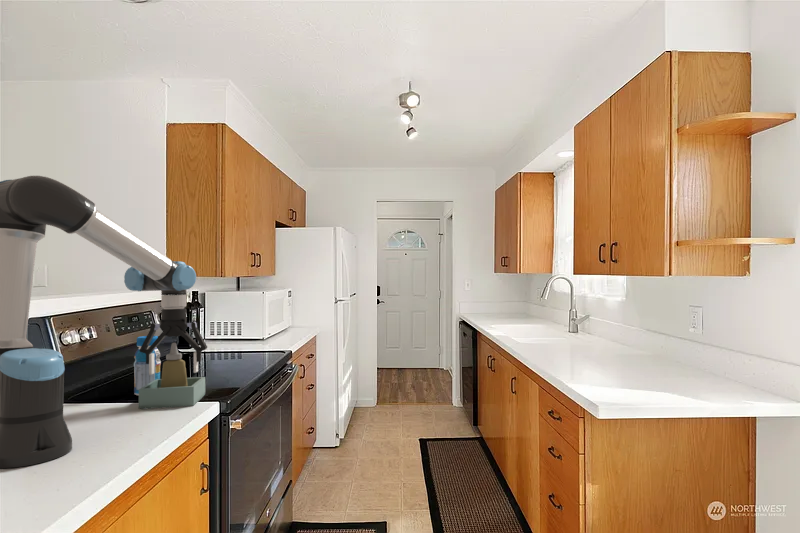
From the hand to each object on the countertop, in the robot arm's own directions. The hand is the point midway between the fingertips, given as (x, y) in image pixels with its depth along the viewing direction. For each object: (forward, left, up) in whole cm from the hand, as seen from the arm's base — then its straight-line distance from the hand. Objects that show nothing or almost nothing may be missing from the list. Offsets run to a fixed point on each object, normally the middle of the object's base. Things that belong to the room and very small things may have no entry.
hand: (174, 373), depth 156 cm
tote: (0, 0, -9) cm, 9 cm away
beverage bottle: (+15, +13, -9) cm, 22 cm away
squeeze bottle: (0, 0, -8) cm, 8 cm away
